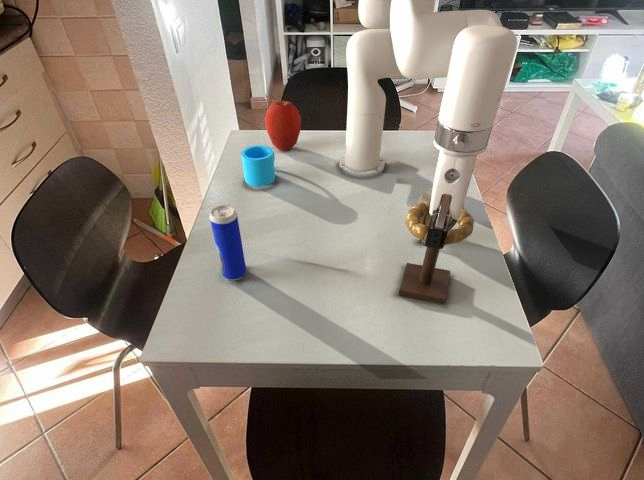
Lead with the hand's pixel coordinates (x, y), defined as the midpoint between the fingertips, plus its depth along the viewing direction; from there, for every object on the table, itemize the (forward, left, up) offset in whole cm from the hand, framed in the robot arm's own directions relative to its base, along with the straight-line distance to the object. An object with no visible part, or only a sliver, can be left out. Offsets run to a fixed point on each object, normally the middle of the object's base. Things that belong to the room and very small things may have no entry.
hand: (435, 240), depth 75 cm
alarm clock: (-21, -1, -14) cm, 25 cm away
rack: (-3, 0, -13) cm, 14 cm away
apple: (-53, -49, -14) cm, 74 cm away
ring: (-5, 0, +1) cm, 5 cm away
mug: (-34, -48, -14) cm, 61 cm away
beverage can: (+5, -39, -14) cm, 41 cm away
